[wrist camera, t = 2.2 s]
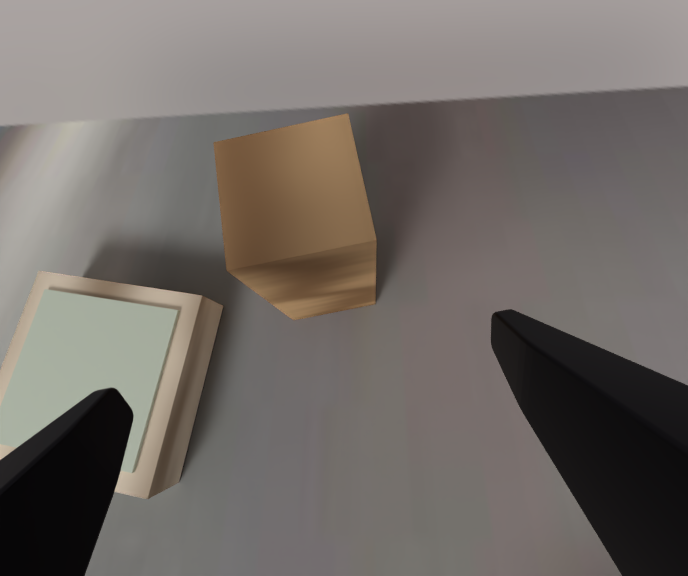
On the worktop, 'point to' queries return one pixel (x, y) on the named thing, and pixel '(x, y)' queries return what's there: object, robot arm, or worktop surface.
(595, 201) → the worktop surface
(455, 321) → the worktop surface
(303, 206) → the oak block
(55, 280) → the plinth
